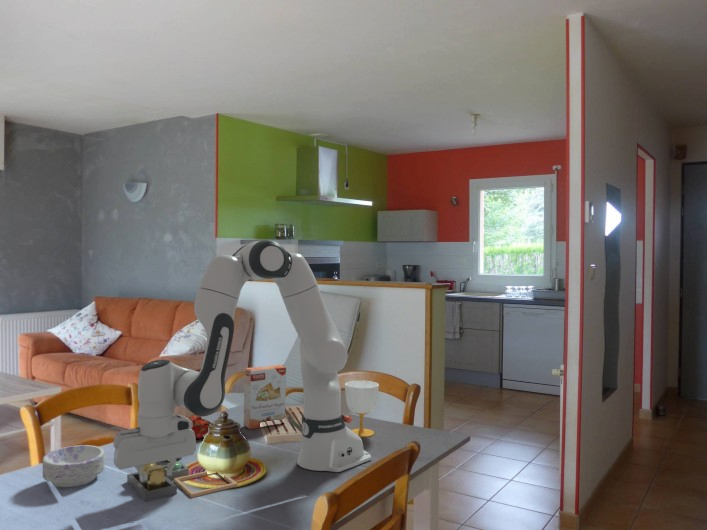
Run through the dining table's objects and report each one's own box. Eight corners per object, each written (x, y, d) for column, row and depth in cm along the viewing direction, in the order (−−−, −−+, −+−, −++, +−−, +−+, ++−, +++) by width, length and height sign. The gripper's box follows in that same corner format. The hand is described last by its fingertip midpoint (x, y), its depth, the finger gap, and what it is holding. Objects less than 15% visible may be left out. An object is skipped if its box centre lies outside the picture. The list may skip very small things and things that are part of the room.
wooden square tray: (217, 475, 170) (217, 468, 170) (237, 489, 159) (237, 483, 159) (173, 485, 162) (173, 478, 162) (191, 501, 152) (191, 494, 152)
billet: (161, 486, 158) (161, 464, 158) (167, 492, 154) (167, 469, 154) (144, 490, 155) (144, 467, 155) (150, 496, 152) (150, 472, 152)
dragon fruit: (173, 445, 199) (209, 445, 205) (180, 435, 193) (217, 436, 199) (173, 420, 204) (208, 421, 210) (180, 410, 198) (216, 411, 204)
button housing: (180, 472, 171) (180, 461, 171) (188, 479, 166) (188, 468, 166) (159, 477, 168) (159, 466, 168) (167, 484, 163) (167, 473, 163)
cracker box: (250, 430, 211) (250, 370, 210) (243, 426, 216) (243, 367, 215) (286, 424, 219) (286, 366, 218) (278, 420, 224) (278, 363, 223)
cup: (357, 426, 217) (357, 378, 217) (384, 432, 210) (385, 383, 210) (337, 434, 208) (338, 384, 207) (365, 440, 201) (366, 389, 200)
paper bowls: (74, 498, 153) (74, 467, 153) (29, 489, 158) (28, 459, 158) (117, 476, 167) (117, 448, 167) (74, 469, 173) (74, 441, 173)
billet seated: (152, 478, 164) (152, 456, 163) (158, 484, 160) (158, 461, 160) (136, 482, 161) (136, 460, 161) (141, 487, 158) (141, 465, 157)
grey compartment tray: (157, 478, 166) (157, 468, 166) (176, 497, 154) (176, 486, 154) (127, 485, 161) (127, 474, 161) (145, 505, 149) (145, 493, 149)
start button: (178, 471, 170) (178, 460, 170) (183, 475, 167) (183, 464, 166) (164, 474, 167) (164, 463, 167) (169, 478, 164) (169, 467, 164)
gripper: (117, 435, 146) (117, 491, 146) (198, 421, 158) (198, 473, 158) (110, 428, 151) (110, 483, 151) (189, 415, 163) (189, 466, 163)
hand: (156, 478), depth 155 cm, fingers open, 5 cm apart
